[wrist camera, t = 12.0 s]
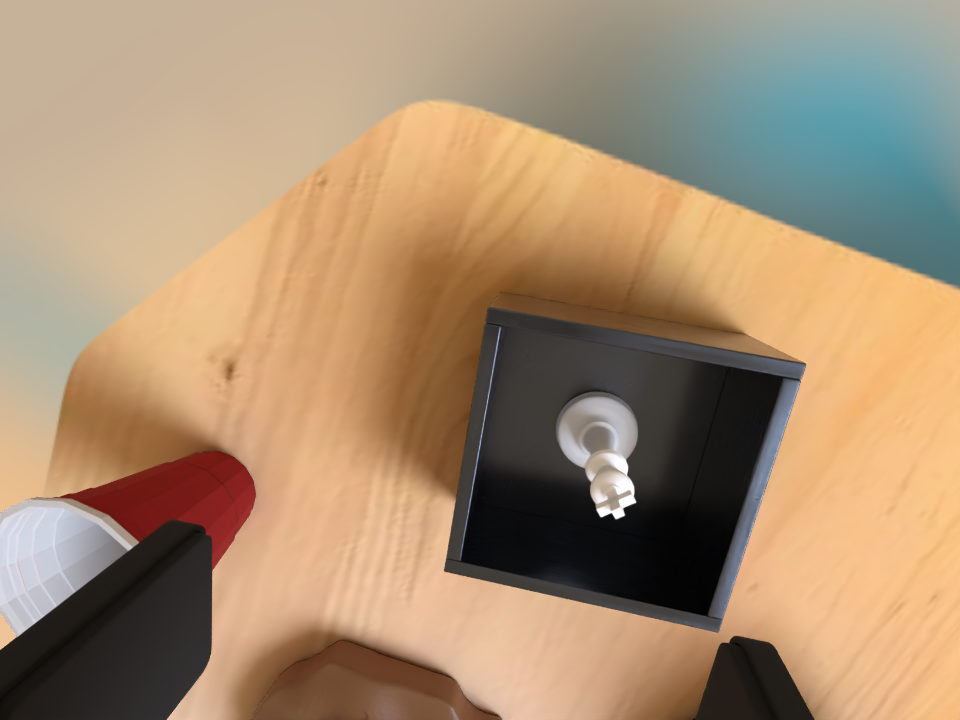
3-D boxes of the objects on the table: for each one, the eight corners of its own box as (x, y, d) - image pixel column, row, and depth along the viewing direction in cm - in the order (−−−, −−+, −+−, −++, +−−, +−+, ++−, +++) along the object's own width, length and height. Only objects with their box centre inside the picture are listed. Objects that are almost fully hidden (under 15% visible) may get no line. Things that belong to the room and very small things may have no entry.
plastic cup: (123, 433, 37) (-71, 523, 25) (257, 401, 35) (113, 482, 23) (179, 566, 39) (23, 705, 27) (308, 542, 37) (200, 681, 26)
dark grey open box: (500, 291, 31) (487, 306, 24) (748, 334, 30) (807, 363, 23) (464, 506, 35) (443, 571, 28) (683, 552, 34) (718, 633, 27)
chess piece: (651, 446, 32) (697, 538, 22) (578, 479, 33) (592, 580, 23) (615, 377, 31) (646, 440, 21) (541, 413, 32) (539, 488, 22)
